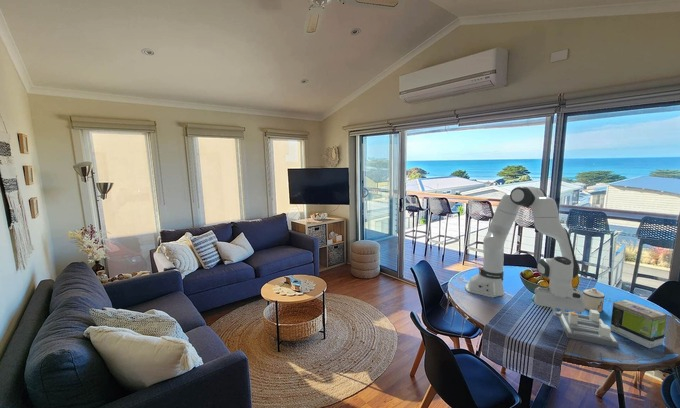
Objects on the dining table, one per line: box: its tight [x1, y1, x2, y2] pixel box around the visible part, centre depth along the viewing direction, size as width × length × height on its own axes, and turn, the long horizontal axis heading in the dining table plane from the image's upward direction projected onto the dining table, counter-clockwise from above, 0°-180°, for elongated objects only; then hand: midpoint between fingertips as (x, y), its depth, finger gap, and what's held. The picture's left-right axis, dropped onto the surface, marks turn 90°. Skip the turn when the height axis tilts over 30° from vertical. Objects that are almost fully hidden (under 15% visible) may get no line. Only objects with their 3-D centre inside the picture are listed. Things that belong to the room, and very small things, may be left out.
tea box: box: [609, 299, 668, 349], centre depth 134 cm, size 15×10×15 cm
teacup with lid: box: [582, 287, 606, 313], centre depth 161 cm, size 12×9×12 cm
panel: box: [557, 309, 619, 348], centre depth 141 cm, size 18×22×7 cm
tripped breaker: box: [568, 310, 578, 325], centre depth 143 cm, size 3×4×5 cm
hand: (557, 315), depth 146 cm, fingers closed
